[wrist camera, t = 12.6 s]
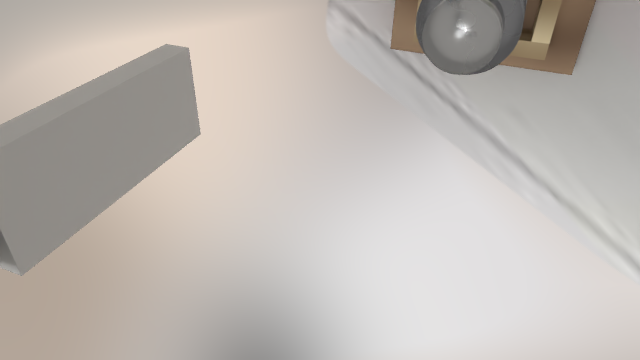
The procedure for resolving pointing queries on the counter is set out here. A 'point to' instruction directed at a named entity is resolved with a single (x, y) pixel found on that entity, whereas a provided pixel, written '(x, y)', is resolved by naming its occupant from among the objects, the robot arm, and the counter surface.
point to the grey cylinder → (469, 32)
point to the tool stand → (536, 37)
